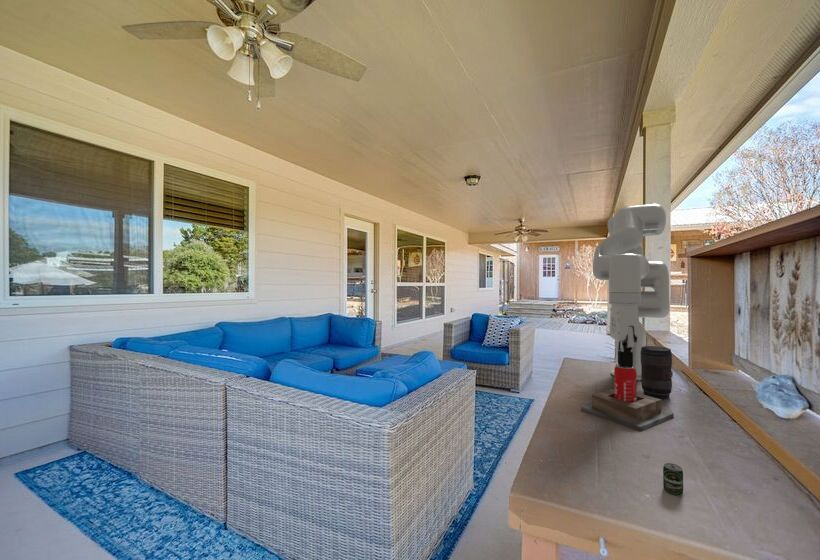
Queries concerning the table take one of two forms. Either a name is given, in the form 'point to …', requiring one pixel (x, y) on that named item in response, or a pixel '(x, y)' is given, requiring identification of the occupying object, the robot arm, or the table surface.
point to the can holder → (628, 410)
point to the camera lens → (656, 371)
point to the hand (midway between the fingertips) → (625, 365)
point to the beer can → (673, 479)
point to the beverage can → (625, 383)
